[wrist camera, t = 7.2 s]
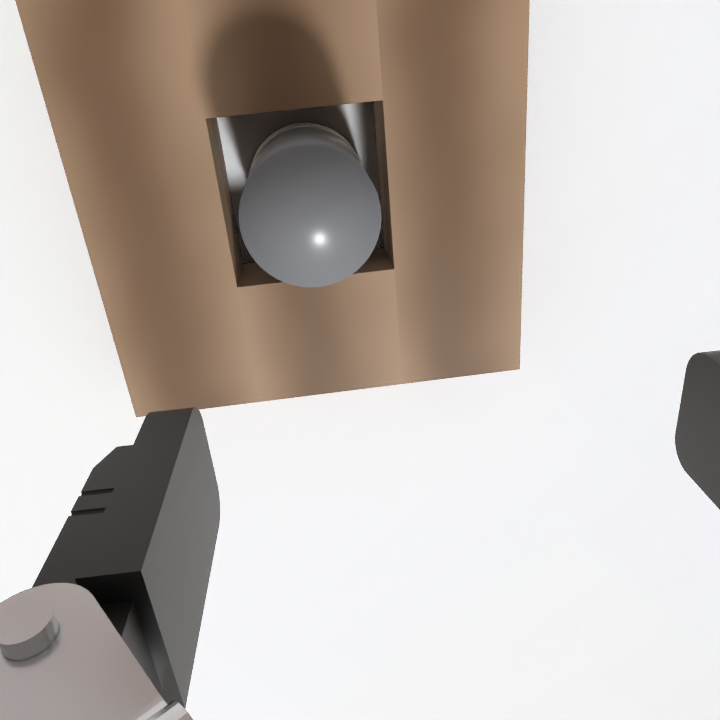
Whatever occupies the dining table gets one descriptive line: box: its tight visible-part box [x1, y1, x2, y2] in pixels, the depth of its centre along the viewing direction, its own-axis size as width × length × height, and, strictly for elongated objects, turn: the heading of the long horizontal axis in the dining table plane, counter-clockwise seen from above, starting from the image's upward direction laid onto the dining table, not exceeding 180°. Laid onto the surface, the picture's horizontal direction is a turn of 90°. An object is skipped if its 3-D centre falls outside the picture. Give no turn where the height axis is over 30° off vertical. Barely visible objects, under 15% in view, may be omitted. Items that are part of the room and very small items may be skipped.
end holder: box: [15, 0, 529, 417], centre depth 24 cm, size 16×16×3 cm
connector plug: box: [239, 123, 382, 288], centre depth 22 cm, size 4×4×6 cm
